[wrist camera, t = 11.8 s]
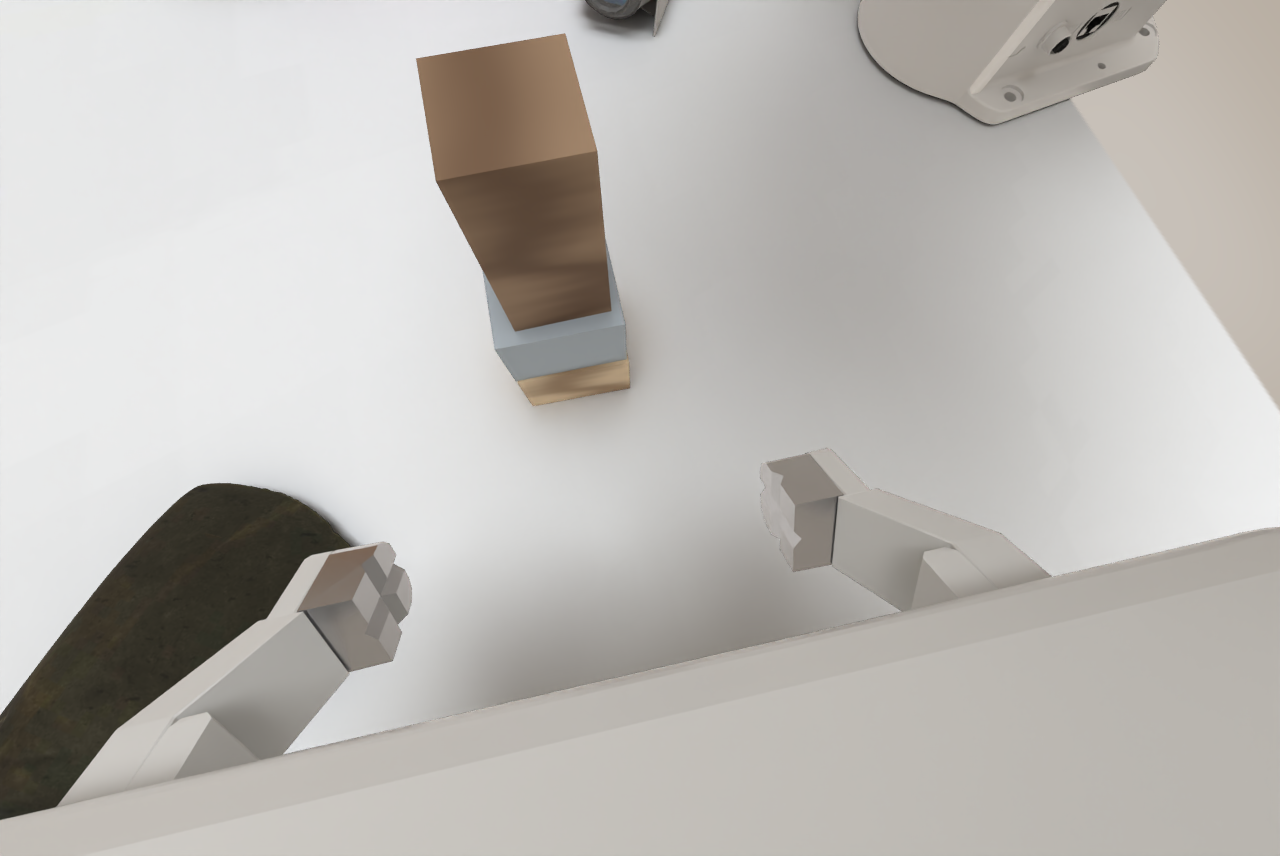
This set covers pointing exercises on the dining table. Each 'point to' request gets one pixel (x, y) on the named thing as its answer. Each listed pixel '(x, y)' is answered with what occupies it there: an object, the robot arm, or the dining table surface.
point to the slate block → (559, 339)
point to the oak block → (577, 383)
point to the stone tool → (152, 629)
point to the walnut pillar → (521, 175)
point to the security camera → (630, 8)
